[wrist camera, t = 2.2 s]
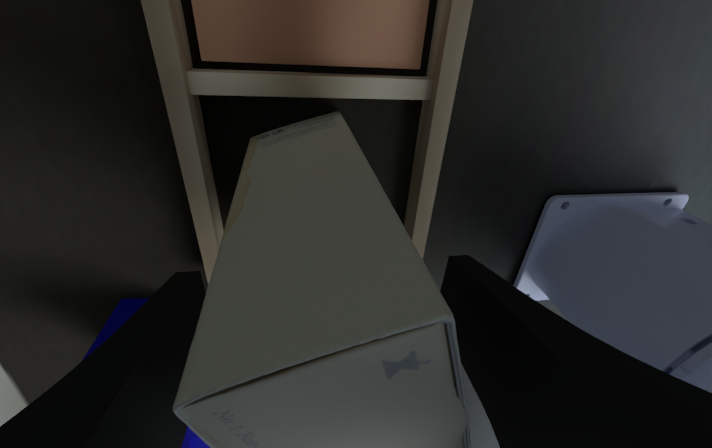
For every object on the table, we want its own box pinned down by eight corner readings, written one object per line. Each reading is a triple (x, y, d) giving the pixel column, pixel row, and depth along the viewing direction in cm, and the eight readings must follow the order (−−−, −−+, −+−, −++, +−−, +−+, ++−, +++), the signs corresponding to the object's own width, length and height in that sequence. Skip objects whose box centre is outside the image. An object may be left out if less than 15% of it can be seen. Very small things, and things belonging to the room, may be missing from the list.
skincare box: (248, 135, 15) (139, 401, 4) (344, 106, 15) (461, 306, 4) (295, 245, 18) (297, 539, 8) (373, 221, 18) (477, 485, 8)
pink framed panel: (501, -257, 10) (531, -298, 9) (411, 257, 20) (419, 273, 18) (80, -348, 8) (41, -417, 7) (215, 269, 18) (209, 288, 17)
